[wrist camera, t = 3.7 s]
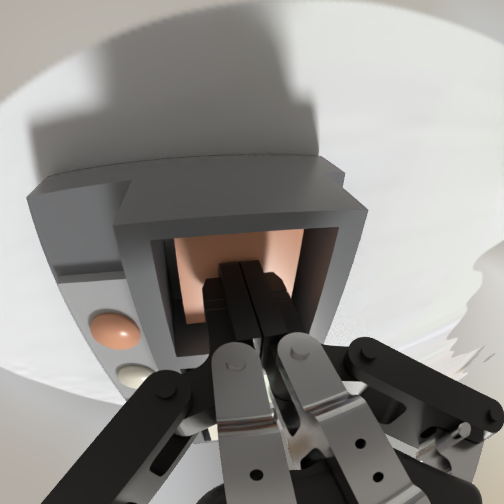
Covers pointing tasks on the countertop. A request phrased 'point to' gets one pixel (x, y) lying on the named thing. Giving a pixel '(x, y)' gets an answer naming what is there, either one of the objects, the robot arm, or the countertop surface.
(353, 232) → the keypad
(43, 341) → the countertop surface
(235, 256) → the key terracotta
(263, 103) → the countertop surface
